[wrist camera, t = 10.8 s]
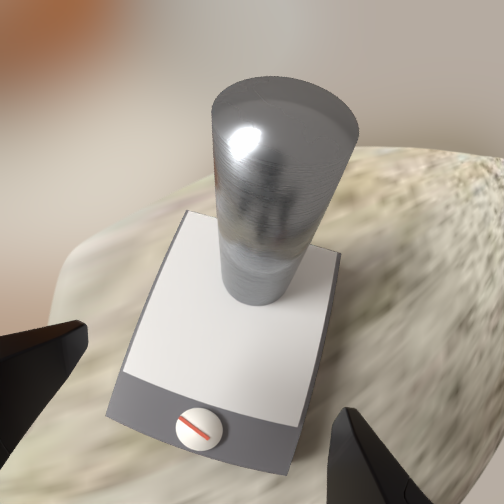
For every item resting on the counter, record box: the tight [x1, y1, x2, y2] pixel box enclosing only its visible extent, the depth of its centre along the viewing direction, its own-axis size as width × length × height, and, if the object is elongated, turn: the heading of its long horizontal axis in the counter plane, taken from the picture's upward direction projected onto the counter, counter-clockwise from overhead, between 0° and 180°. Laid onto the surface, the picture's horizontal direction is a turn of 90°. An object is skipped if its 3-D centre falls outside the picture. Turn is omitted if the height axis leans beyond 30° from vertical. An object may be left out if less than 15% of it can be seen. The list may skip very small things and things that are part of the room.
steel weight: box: [211, 76, 359, 306], centre depth 14 cm, size 4×4×12 cm
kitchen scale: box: [105, 210, 341, 476], centre depth 19 cm, size 16×12×4 cm
